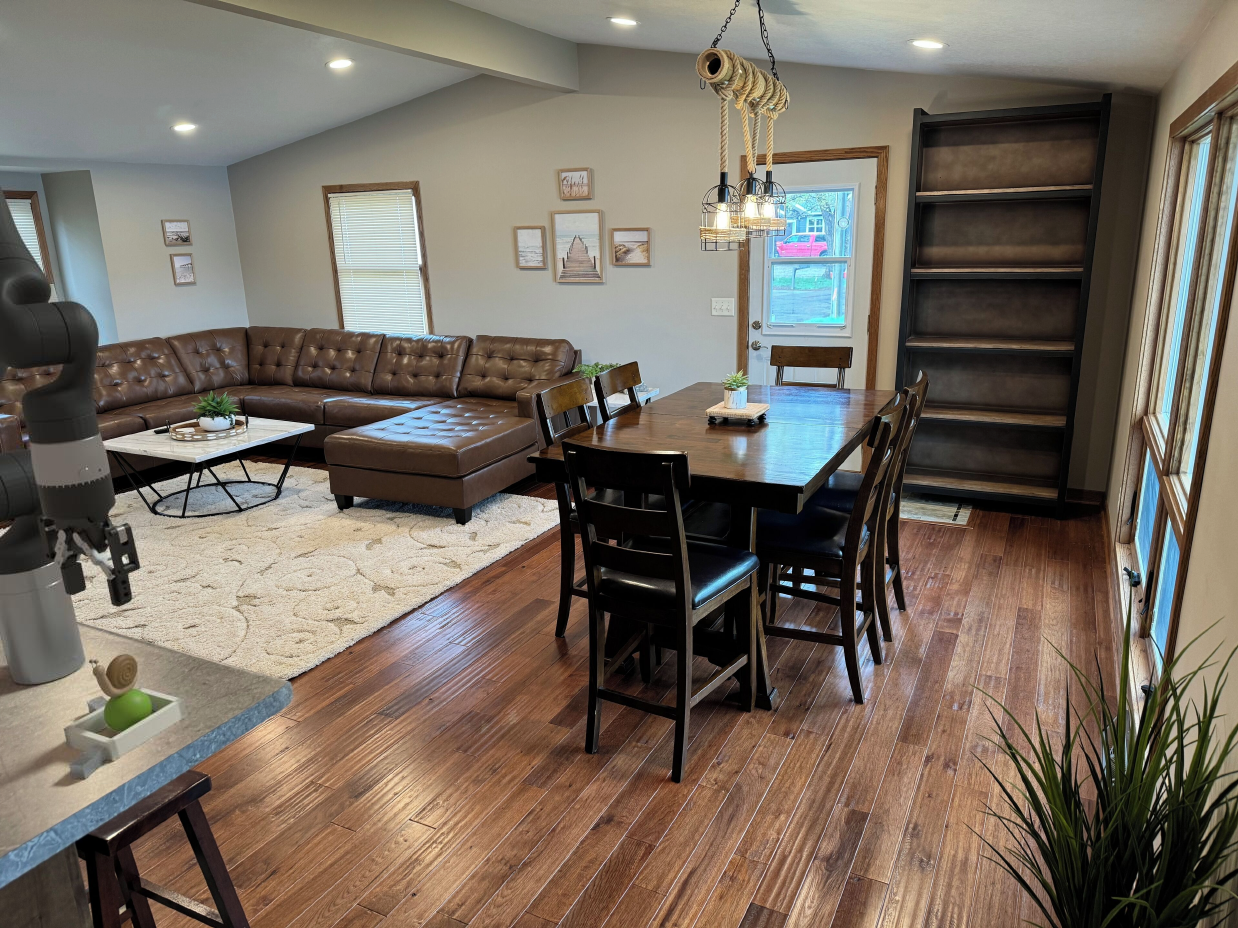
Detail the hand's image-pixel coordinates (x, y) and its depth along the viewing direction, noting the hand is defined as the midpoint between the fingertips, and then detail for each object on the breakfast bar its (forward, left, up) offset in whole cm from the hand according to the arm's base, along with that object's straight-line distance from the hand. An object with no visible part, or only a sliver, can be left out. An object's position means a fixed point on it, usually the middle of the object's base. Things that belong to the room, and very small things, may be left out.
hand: (99, 598), depth 105 cm
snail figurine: (0, 0, -19) cm, 19 cm away
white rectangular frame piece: (-2, -2, -19) cm, 19 cm away
